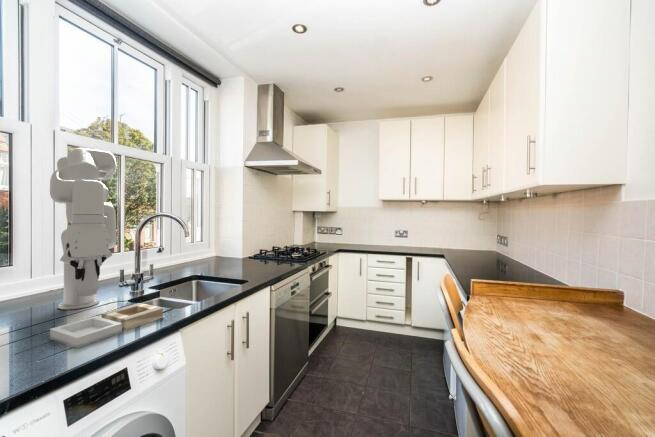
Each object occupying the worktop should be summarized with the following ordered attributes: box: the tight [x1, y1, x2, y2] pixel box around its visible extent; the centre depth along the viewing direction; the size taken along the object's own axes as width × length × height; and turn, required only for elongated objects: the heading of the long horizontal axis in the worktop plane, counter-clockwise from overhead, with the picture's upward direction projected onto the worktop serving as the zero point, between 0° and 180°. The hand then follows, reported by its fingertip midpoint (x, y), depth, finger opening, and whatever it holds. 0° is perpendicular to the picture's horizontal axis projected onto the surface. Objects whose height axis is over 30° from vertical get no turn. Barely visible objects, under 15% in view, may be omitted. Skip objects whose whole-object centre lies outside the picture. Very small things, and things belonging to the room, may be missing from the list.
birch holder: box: [101, 302, 164, 331], centre depth 101 cm, size 13×13×4 cm
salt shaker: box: [75, 255, 100, 297], centre depth 88 cm, size 6×6×13 cm
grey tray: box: [49, 315, 123, 349], centre depth 88 cm, size 14×12×3 cm
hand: (87, 279), depth 88 cm, fingers closed on salt shaker, 3 cm apart
